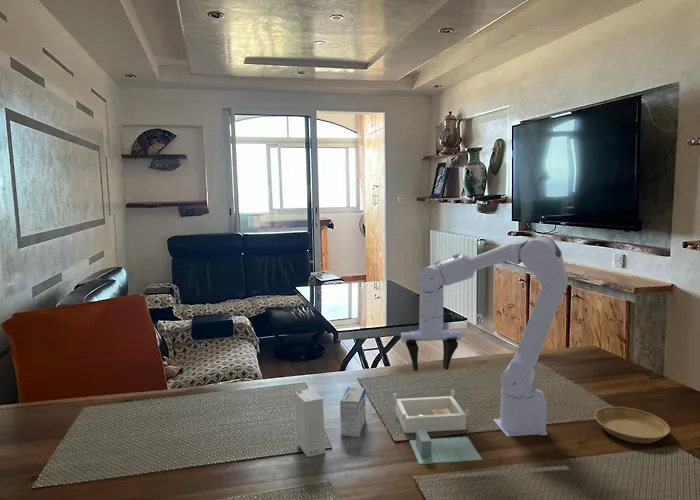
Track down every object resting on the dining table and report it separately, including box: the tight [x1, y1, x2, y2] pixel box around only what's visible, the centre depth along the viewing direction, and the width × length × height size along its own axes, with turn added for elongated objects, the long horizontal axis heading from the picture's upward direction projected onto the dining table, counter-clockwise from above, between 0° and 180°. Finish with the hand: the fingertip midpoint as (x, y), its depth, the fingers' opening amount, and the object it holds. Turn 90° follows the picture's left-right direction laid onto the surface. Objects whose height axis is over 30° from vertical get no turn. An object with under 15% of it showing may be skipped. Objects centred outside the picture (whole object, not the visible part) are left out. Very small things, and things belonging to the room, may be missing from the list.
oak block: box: [431, 408, 451, 415], centre depth 116 cm, size 4×3×2 cm
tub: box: [392, 390, 470, 434], centre depth 117 cm, size 15×11×5 cm
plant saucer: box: [594, 406, 671, 444], centre depth 113 cm, size 15×15×3 cm
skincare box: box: [294, 388, 326, 458], centre depth 106 cm, size 6×4×12 cm
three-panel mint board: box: [408, 429, 483, 465], centre depth 104 cm, size 13×9×4 cm
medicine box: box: [339, 386, 367, 438], centre depth 114 cm, size 8×4×9 cm, turn 168°
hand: (430, 368), depth 123 cm, fingers open, 7 cm apart
